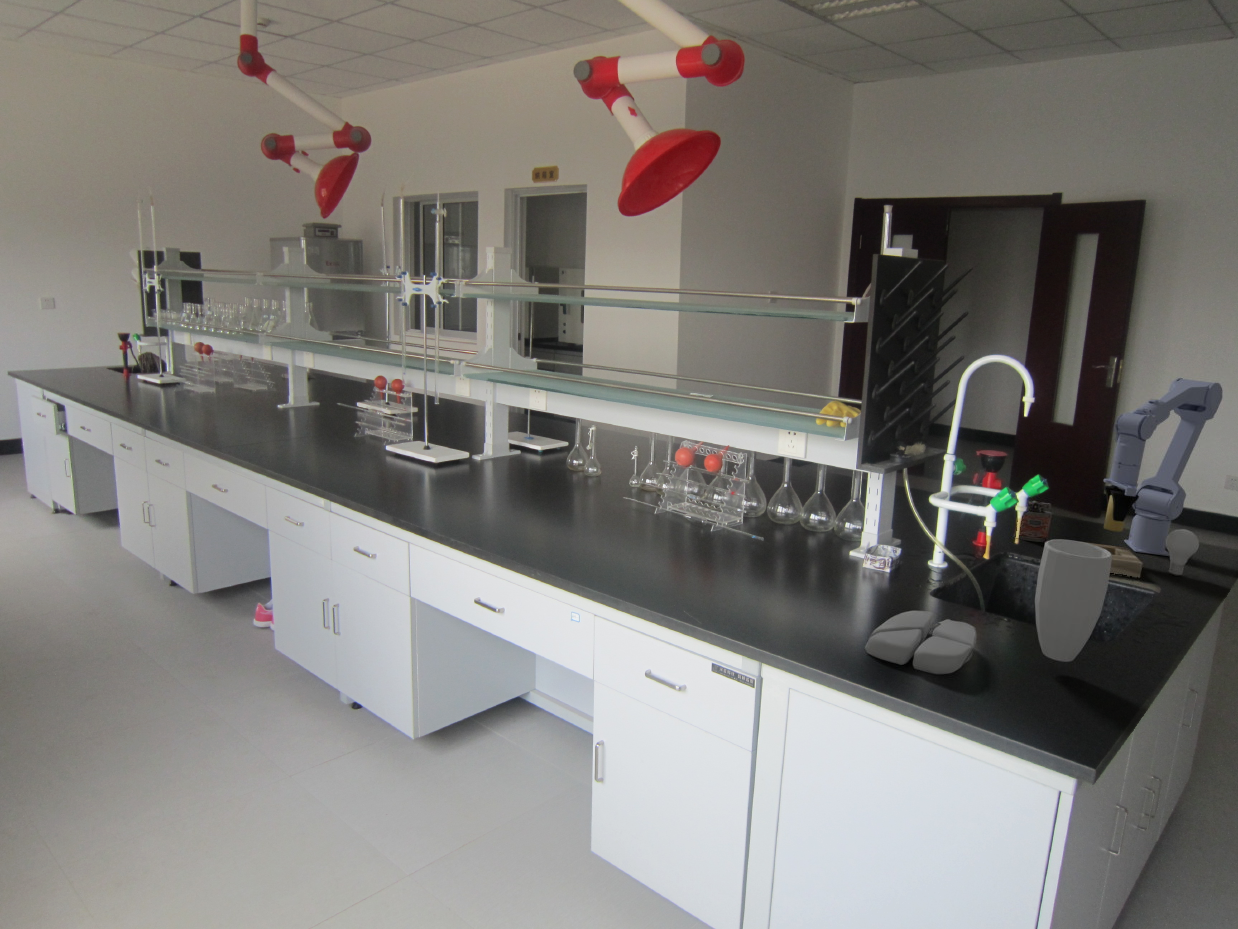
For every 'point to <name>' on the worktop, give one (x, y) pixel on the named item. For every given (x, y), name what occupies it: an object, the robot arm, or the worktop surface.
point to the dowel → (1109, 521)
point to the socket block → (1123, 561)
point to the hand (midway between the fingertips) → (1115, 518)
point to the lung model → (923, 642)
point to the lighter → (1035, 522)
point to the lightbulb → (1180, 549)
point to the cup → (1069, 596)
